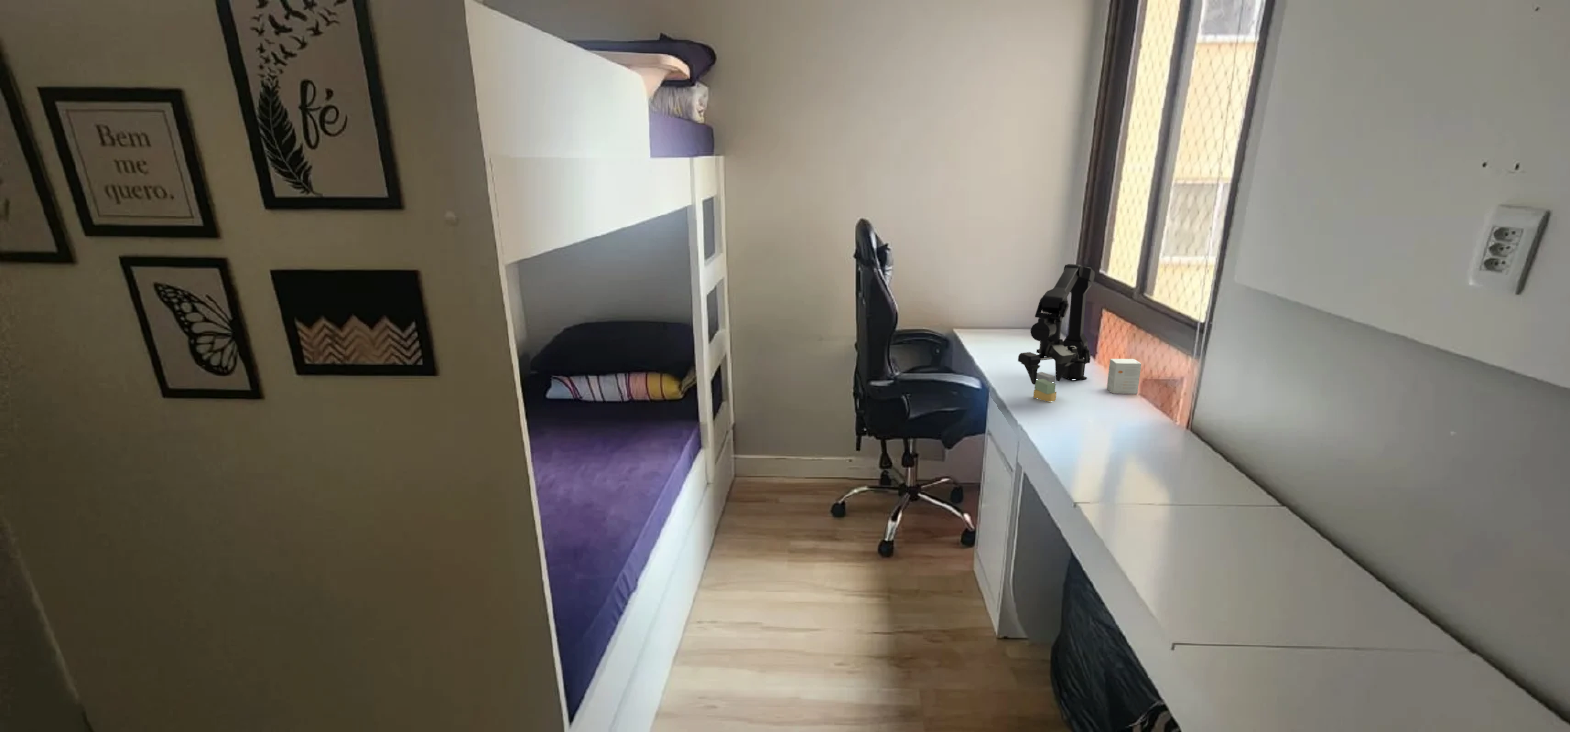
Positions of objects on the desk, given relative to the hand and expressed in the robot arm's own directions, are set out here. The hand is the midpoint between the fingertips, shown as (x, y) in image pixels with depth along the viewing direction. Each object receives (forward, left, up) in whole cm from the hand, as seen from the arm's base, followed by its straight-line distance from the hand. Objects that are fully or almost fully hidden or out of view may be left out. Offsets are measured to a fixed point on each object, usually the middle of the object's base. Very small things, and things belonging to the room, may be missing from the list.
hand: (1045, 382), depth 215 cm
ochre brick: (0, 0, -6) cm, 6 cm away
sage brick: (0, 0, -3) cm, 3 cm away
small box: (-29, +2, -6) cm, 30 cm away
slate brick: (-12, -15, -6) cm, 20 cm away
